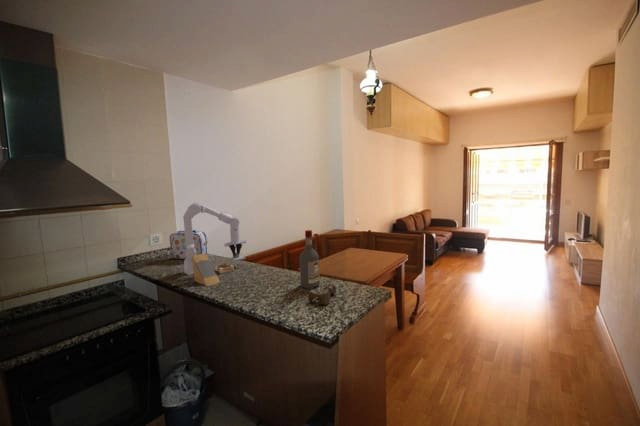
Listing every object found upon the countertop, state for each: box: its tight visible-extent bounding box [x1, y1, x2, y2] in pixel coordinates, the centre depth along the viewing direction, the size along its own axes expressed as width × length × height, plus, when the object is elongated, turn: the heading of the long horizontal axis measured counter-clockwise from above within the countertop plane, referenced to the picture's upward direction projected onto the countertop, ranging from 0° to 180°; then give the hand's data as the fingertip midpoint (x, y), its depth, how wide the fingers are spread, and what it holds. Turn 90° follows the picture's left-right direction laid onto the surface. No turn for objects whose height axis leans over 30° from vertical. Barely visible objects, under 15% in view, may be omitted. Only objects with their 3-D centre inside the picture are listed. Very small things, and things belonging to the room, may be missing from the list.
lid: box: [226, 252, 246, 262], centre depth 206 cm, size 10×8×3 cm
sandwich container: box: [192, 253, 221, 287], centre depth 178 cm, size 9×15×15 cm, turn 48°
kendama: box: [307, 283, 337, 306], centre depth 147 cm, size 6×10×20 cm
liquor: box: [299, 229, 321, 289], centre depth 166 cm, size 9×9×30 cm
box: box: [214, 262, 235, 275], centre depth 198 cm, size 10×8×3 cm
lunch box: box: [169, 229, 209, 260], centre depth 230 cm, size 28×10×22 cm, turn 81°
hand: (236, 255), depth 206 cm, fingers closed on lid, 2 cm apart
